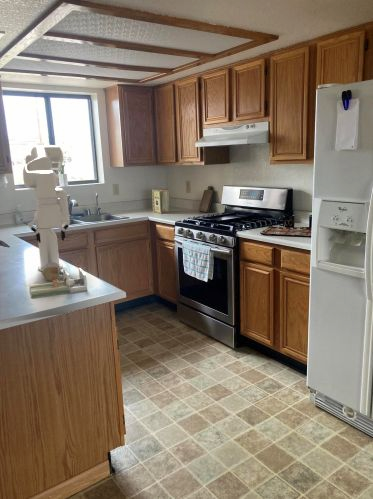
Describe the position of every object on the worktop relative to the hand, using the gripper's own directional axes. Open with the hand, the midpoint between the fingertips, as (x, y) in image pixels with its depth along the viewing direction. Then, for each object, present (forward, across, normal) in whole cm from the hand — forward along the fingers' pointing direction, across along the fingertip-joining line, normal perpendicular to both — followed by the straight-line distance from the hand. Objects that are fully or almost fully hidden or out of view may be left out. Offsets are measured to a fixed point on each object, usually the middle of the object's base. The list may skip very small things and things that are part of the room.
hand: (51, 241), depth 177 cm
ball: (+20, -6, +1) cm, 21 cm away
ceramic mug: (+23, -2, -19) cm, 29 cm away
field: (+22, +3, +1) cm, 22 cm away
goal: (+22, -8, +1) cm, 24 cm away
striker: (+20, 0, +1) cm, 20 cm away
